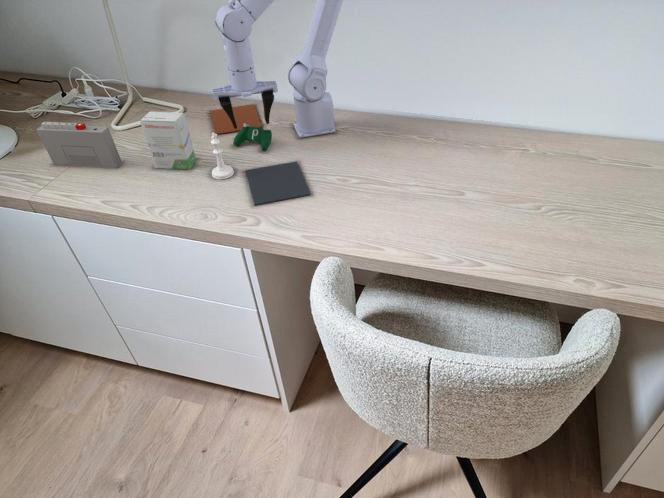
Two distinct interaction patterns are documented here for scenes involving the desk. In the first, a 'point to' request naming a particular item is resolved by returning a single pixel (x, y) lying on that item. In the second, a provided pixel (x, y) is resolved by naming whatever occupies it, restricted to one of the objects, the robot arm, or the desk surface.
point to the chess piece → (220, 161)
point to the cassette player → (79, 145)
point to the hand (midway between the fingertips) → (251, 124)
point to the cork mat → (241, 116)
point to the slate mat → (276, 183)
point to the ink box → (168, 140)
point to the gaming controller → (254, 136)
